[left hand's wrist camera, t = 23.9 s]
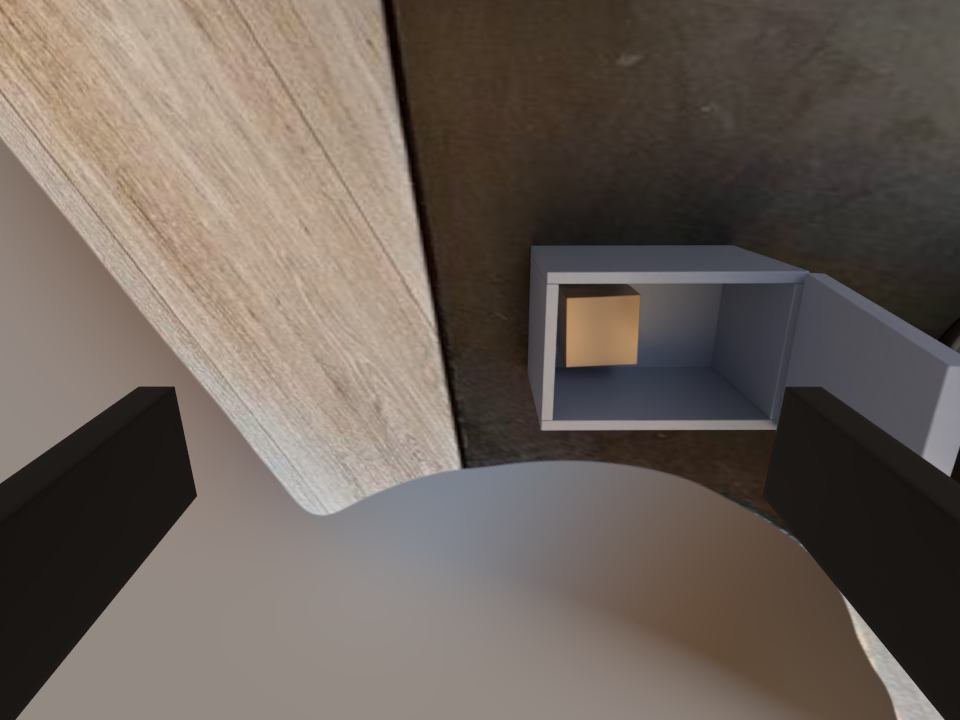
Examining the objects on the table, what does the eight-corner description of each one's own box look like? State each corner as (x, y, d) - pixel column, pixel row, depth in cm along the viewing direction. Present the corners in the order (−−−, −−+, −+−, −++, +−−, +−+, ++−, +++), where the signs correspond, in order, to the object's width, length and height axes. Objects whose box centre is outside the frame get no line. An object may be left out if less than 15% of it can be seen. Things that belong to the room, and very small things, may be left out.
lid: (873, 619, 22) (1124, 660, 21) (948, 365, 19) (1260, 387, 17) (774, 433, 38) (914, 446, 36) (805, 272, 34) (962, 279, 32)
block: (556, 345, 47) (565, 367, 42) (556, 282, 45) (566, 297, 40) (620, 342, 47) (637, 364, 42) (622, 279, 45) (641, 294, 40)
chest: (527, 372, 48) (540, 430, 38) (531, 245, 45) (547, 272, 34) (715, 371, 48) (779, 429, 38) (733, 245, 45) (810, 271, 34)
